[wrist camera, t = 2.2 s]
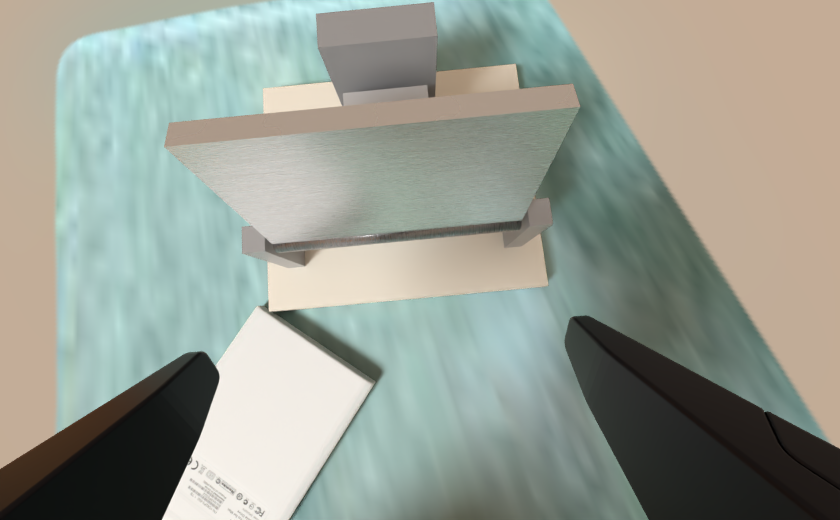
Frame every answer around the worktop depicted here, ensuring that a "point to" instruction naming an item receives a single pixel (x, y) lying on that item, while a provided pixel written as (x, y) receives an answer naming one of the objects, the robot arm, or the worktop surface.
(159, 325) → the worktop surface
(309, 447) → the external hard drive
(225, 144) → the brushed grey panel
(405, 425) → the worktop surface
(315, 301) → the board
